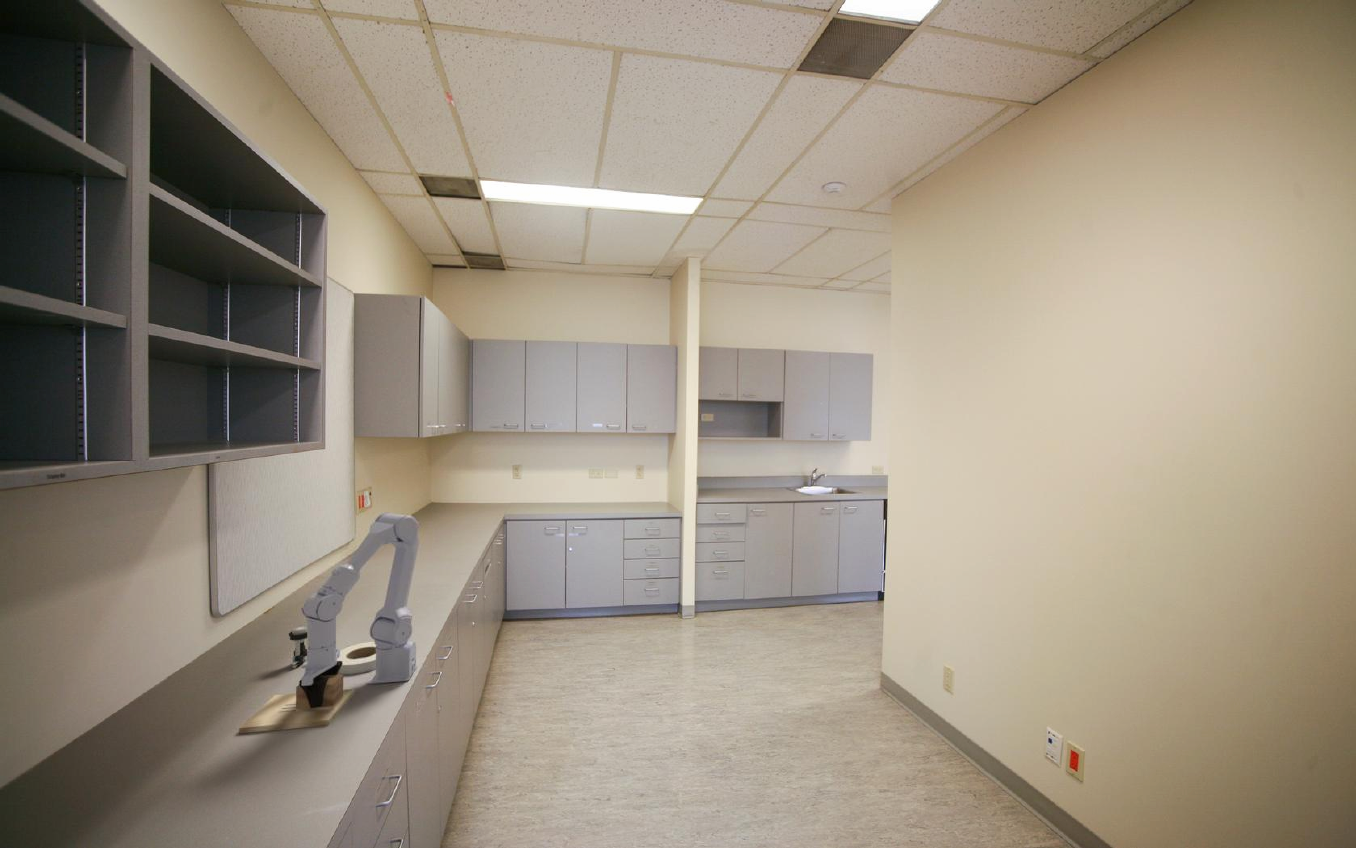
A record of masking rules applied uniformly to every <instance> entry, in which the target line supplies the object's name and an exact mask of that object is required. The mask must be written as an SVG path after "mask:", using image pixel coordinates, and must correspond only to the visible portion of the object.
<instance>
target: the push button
mask: <svg viewBox="0 0 1356 848" xmlns="http://www.w3.org/2000/svg"><path fill="white" fill-rule="evenodd" d="M288 636H289V640H290V641H292V642H295V645H294V646H295V648H294V651H293V657H292V664H291V665H292V667H291V668H292V669H295V668H297V667H302V665H303V664H304V663H305V662H307V648H306V640H307V625H300V626H297V627H294V628H293V629H292V630H291V631H289V633H288Z"/></svg>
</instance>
